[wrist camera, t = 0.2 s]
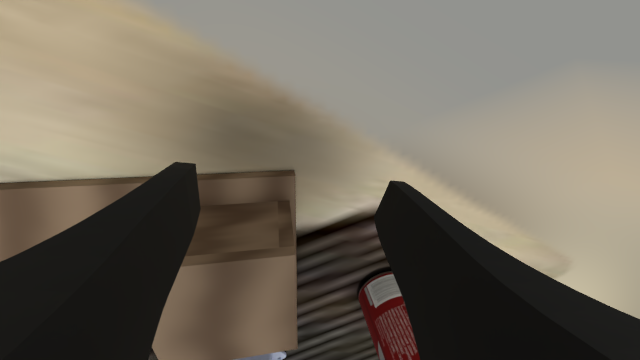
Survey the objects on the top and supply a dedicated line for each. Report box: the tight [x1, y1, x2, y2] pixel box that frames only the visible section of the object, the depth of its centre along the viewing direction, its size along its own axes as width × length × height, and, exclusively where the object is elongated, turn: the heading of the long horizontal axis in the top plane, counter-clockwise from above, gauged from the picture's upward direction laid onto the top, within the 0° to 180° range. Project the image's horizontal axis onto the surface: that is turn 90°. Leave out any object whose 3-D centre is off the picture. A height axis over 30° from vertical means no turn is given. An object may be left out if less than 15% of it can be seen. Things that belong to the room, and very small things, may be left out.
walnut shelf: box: [0, 171, 297, 360], centre depth 18 cm, size 28×15×7 cm, turn 88°
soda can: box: [358, 271, 420, 360], centre depth 24 cm, size 7×7×12 cm
